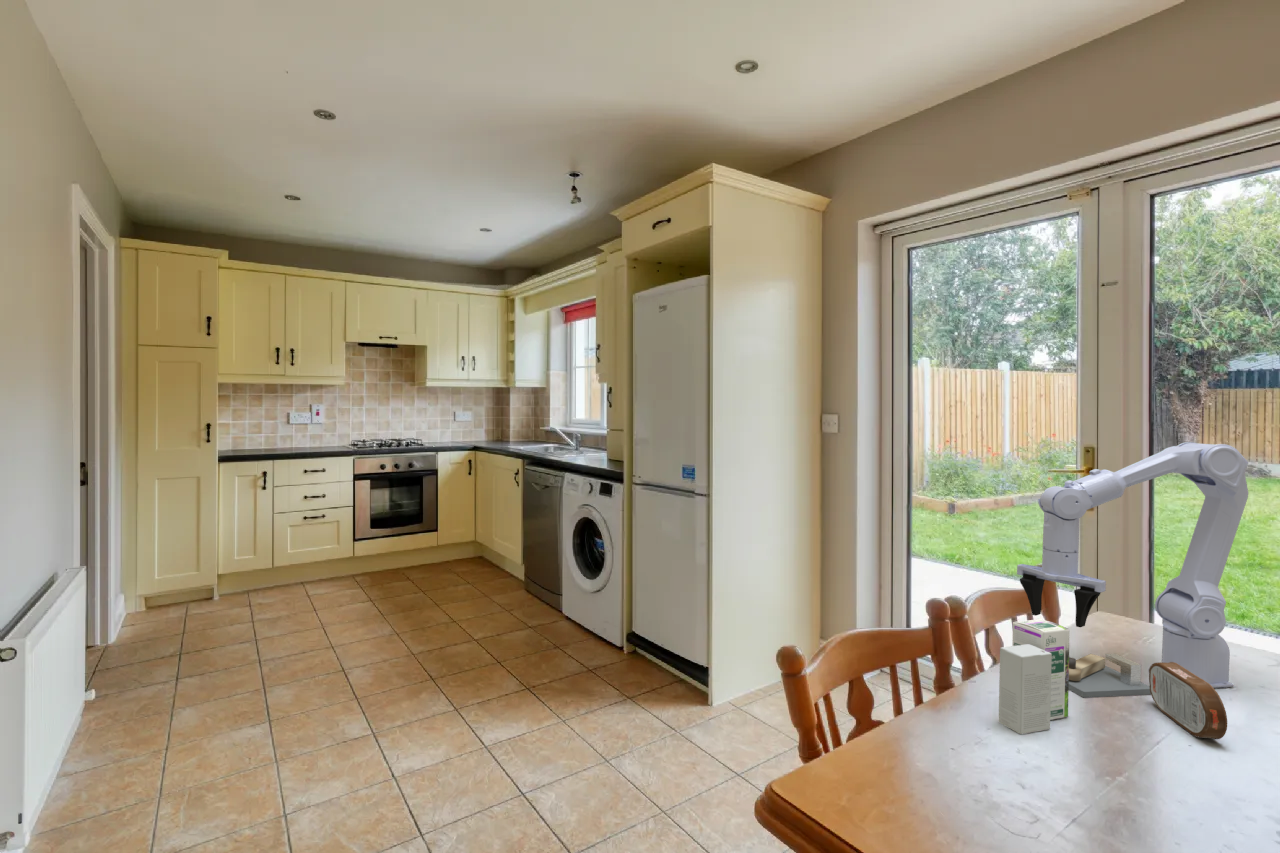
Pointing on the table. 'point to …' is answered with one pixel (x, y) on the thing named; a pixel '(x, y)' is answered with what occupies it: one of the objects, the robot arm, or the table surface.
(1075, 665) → the beech link
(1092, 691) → the slate board
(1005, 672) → the skincare box
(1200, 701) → the tin
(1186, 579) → the robot arm
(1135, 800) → the table surface
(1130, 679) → the steel keeper
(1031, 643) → the syrup box
